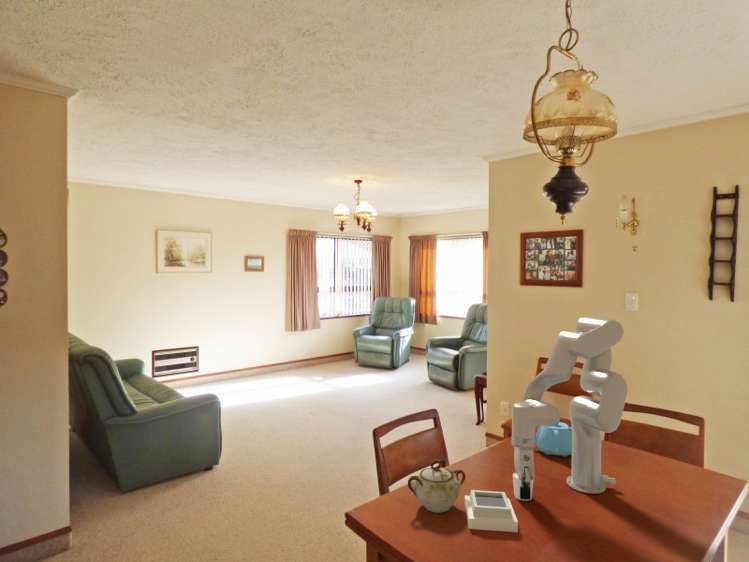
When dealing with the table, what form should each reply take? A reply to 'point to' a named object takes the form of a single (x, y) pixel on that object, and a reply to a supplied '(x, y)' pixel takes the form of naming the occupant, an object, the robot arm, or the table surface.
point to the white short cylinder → (518, 483)
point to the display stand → (490, 511)
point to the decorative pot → (555, 439)
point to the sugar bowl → (437, 487)
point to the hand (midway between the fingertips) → (522, 493)
